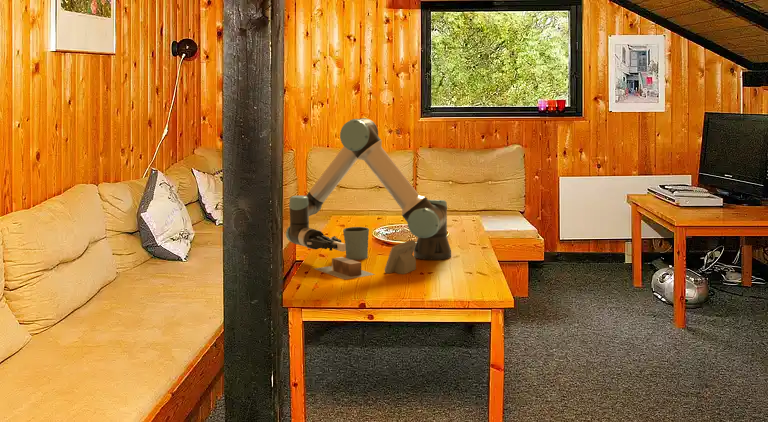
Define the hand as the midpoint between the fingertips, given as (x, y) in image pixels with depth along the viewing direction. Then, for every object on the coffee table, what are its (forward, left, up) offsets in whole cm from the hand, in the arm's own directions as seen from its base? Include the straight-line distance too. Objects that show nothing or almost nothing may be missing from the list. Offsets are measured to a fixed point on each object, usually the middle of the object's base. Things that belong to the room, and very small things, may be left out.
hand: (343, 247), depth 297 cm
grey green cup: (+8, -24, -10) cm, 28 cm away
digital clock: (-17, -12, -10) cm, 23 cm away
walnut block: (+4, -2, -7) cm, 8 cm away
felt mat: (0, 0, -9) cm, 10 cm away
